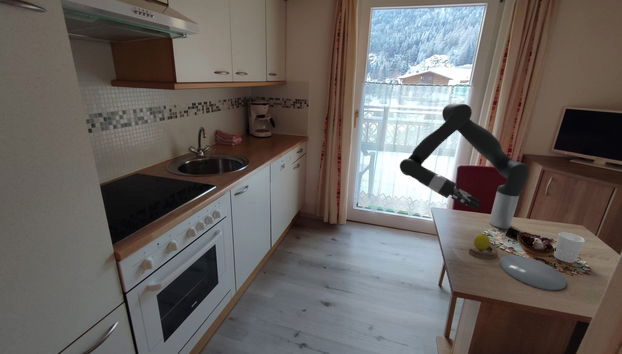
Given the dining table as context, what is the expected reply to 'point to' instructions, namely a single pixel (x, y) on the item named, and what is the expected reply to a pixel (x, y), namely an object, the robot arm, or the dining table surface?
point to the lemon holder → (485, 254)
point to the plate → (533, 272)
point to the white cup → (568, 247)
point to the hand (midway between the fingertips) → (478, 205)
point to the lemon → (481, 242)
